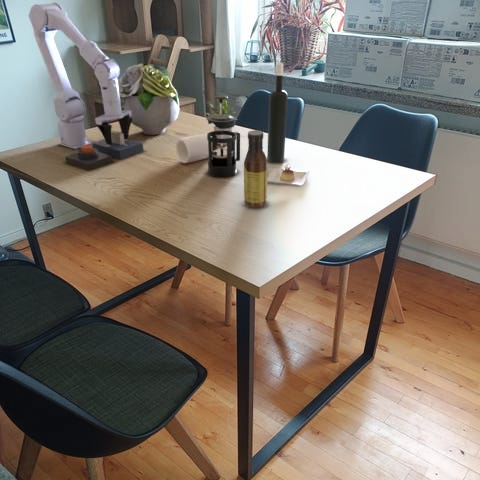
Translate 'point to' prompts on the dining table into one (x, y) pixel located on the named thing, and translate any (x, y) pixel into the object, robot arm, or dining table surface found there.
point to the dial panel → (119, 148)
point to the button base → (88, 159)
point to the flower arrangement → (149, 97)
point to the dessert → (287, 176)
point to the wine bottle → (277, 119)
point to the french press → (222, 158)
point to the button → (87, 148)
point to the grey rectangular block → (117, 137)
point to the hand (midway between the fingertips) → (117, 141)
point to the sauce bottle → (255, 171)
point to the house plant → (224, 111)
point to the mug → (192, 148)
